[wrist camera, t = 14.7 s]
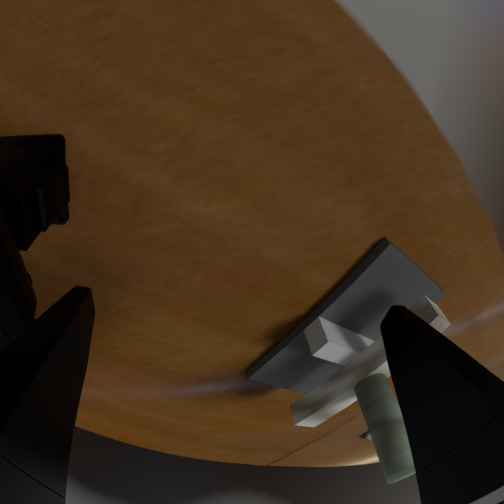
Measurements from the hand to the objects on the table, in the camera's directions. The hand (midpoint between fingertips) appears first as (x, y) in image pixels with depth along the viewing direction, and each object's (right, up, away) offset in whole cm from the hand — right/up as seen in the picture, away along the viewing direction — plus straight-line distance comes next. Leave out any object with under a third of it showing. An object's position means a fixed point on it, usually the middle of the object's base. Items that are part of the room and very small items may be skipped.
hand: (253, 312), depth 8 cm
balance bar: (+10, -9, +19) cm, 23 cm away
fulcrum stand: (+10, -7, +22) cm, 25 cm away
